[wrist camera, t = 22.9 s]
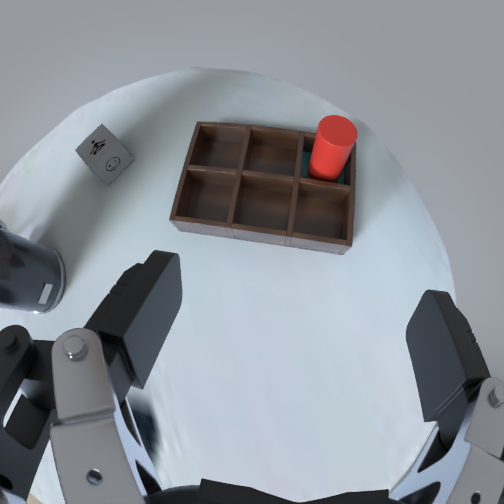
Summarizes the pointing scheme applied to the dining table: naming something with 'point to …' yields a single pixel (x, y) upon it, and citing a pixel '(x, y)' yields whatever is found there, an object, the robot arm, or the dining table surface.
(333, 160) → the red cylinder
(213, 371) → the dining table surface
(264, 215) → the grid
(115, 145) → the dice cube
